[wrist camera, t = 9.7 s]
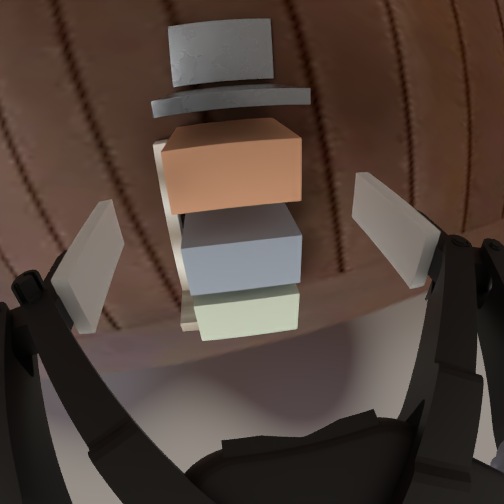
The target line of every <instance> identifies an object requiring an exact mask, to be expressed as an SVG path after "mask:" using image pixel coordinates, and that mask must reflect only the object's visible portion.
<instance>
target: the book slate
mask: <svg viewBox="0 0 504 504" xmlns="http://www.w3.org/2000/svg"><path fill="white" fill-rule="evenodd" d="M301 253H302V234H301V232H300V230H299V228H298V226H297V225H296V223H295V221H294V219H293V217H292V215H291V214H290V212H289V210H288V208H287V206H286V204H285V203H284V202H283V203H272V204H262V205H252V206H243V207H234V208H225V209H216V210H208V211H200V212H192V213H186V214H185V220H184V227H183V234H182V241H181V254H182V258H183V263H184V268H185V272H186V277H187V281H188V285H189V290H190V294H191V296H193V295H202V294H211V293H220V292H229V291H237V290H245V289H253V288H261V287H269V286H277V285H284V284H292V283H299V282H300V274H301Z"/></svg>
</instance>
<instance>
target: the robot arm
mask: <svg viewBox="0 0 504 504" xmlns="http://www.w3.org/2000/svg"><path fill="white" fill-rule="evenodd" d="M352 218H353V219H354V220H355V221H356V222H357V223H358V225H359V226H360V227H361V228H362V229H363V230H364V232H365V233H366V234H367V235H368V236H369V237H370V239H371V240H372V241H373V242H374V243H375V245H376V246H377V247H378V248H379V249H380V251H381V252H382V253H383V254H384V256H385V257H386V258H387V259H388V261H389V262H390V263H391V264H392V266H393V267H394V268H395V269H396V271H397V272H398V273H399V274H400V276H401V277H402V278H403V280H404V281H405V282H406V284H407V285H408V286H409V287H410V289H412V288H417V287H421V286H424V284H425V281H426V278H427V275H429V276H430V278H431V279H432V282H431V285H430V288H429V290H428V293H427V295H426V298H425V300H427V299H428V302H427V308H426V314H425V320H424V326H423V330H422V335H421V340H420V344H419V349H418V353H417V358H416V362H415V366H414V369H413V373H412V378H411V381H410V385H409V388H408V391H407V395H406V399H405V401H404V404H403V408H402V410H401V413H400V415H399V416H398V418H397V419H392V418H381V417H378V418H377V416H376V414H375V411H374V409H372V410H369V411H366V412H363V413H360V414H356V415H352V416H349V417H346V418H342V419H339V420H337V421H335V422H333V423H331V424H329V425H328V426H326V427H324V428H322V429H320V430H318V431H316V432H314V433H312V434H310V435H308V436H305V437H277V436H255V437H247V438H239V439H230V440H222V449H221V450H219V451H216V452H214V453H211V454H209V455H207V456H205V457H204V458H202V459H200V460H199V461H198V462H196V463H195V464H194V465H192V466H191V467H190V468H189V469H188V470H187V471H186V472H185V474H184V473H183V472H182V471H181V470H180V469H179V468H178V467H177V466H176V465H175V464H174V463H173V462H172V461H171V460H170V459H168V457H166V455H165V454H164V453H163V452H162V451H161V450H160V449H159V448H158V447H157V446H156V445H155V443H154V442H153V441H152V440H151V439H150V438H149V437H148V436H147V435H146V434H145V432H144V431H143V430H142V429H141V428H140V427H139V425H138V424H137V423H136V422H135V421H134V420H133V418H132V417H131V416H130V415H129V413H128V412H127V411H126V410H125V409H124V407H123V406H122V405H121V404H120V402H119V401H118V400H117V398H116V397H115V396H114V395H113V393H112V392H111V390H110V389H109V388H108V387H107V385H106V384H105V382H104V381H103V380H102V378H101V377H100V375H99V374H98V372H97V371H96V370H95V368H94V367H93V365H92V364H91V362H90V361H89V359H88V358H87V356H86V355H85V353H84V352H83V350H82V348H81V347H80V345H79V344H78V342H77V340H76V339H75V337H74V336H73V334H72V332H71V329H72V326H73V324H74V325H75V327H76V329H77V331H78V332H79V334H85V333H95V332H96V328H97V325H98V321H99V318H100V314H101V311H102V308H103V304H104V301H105V298H106V295H107V292H108V289H109V286H110V283H111V280H112V277H113V274H114V271H115V268H116V265H117V263H118V260H119V257H120V254H121V252H122V249H123V246H124V241H123V238H122V234H121V231H120V227H119V224H118V220H117V217H116V213H115V209H114V206H113V202H112V199H111V200H106V201H100V202H99V203H98V204H97V205H96V207H95V208H94V210H93V211H92V213H91V214H90V216H89V217H88V219H87V220H86V222H85V223H84V225H83V226H82V228H81V230H80V231H79V233H78V234H77V236H76V238H75V239H74V241H73V242H72V244H71V246H70V247H69V249H68V250H66V251H64V252H63V253H62V254H61V255H60V256H58V257H57V259H56V261H55V262H54V264H53V266H52V267H51V269H50V272H49V273H48V274H47V276H46V278H45V280H44V281H43V280H42V278H41V276H40V274H39V272H38V271H37V270H29V271H26V272H24V273H22V274H21V275H19V276H18V277H17V278H16V279H15V280H14V282H13V283H12V286H11V289H12V291H13V293H14V295H15V297H16V298H17V300H18V302H19V303H20V305H21V306H20V307H17V308H15V309H12V310H10V309H9V308H8V306H7V305H6V303H4V302H0V504H72V501H71V499H70V496H69V493H68V491H67V488H66V485H65V482H64V479H63V476H62V473H61V470H60V467H59V464H58V460H57V457H56V453H55V450H54V446H53V443H52V438H51V435H50V430H49V426H48V421H47V417H46V412H45V407H44V401H43V395H42V390H41V383H40V376H39V368H38V359H37V354H38V353H39V356H40V358H41V360H42V363H43V365H44V367H45V369H46V372H47V374H48V376H49V378H50V380H51V382H52V384H53V386H54V388H55V390H56V392H57V394H58V396H59V398H60V400H61V402H62V404H63V405H64V407H65V409H66V411H67V413H68V415H69V416H70V418H71V420H72V422H73V423H74V425H75V427H76V428H77V430H78V432H79V433H80V435H81V436H82V438H83V440H84V441H85V443H86V444H87V446H88V447H89V450H90V451H89V452H88V455H89V458H90V459H91V461H92V463H93V464H94V466H95V467H96V469H97V470H98V472H99V473H100V474H101V476H102V477H103V478H104V480H105V481H106V483H107V484H108V485H109V486H110V488H111V489H112V490H113V492H114V493H115V494H116V495H117V497H118V498H119V499H120V500H121V502H122V503H123V504H504V246H503V245H502V244H501V243H500V242H499V241H497V240H495V239H489V238H487V239H484V241H483V243H482V246H481V248H477V247H472V245H471V243H470V242H469V241H468V240H467V239H465V238H463V237H461V236H458V235H447V234H446V233H445V232H444V231H443V230H442V229H441V228H440V227H438V226H437V225H436V224H434V222H433V221H432V220H430V219H429V218H428V217H427V216H426V215H425V214H423V213H422V212H420V211H418V210H416V209H414V208H413V207H412V206H411V205H409V204H408V203H407V202H406V201H404V200H403V199H402V198H401V197H399V196H398V195H397V194H396V193H394V192H393V191H392V190H391V189H389V188H388V187H387V186H386V185H384V184H383V183H382V182H380V181H379V180H378V179H376V178H375V177H374V176H372V175H371V174H370V173H368V172H360V173H356V180H355V190H354V200H353V210H352ZM477 333H478V337H479V341H480V346H481V350H482V355H483V360H484V366H485V371H486V377H487V382H488V390H489V397H490V406H491V415H492V423H493V432H494V437H495V443H496V447H497V454H496V457H495V458H493V459H492V461H491V465H490V466H489V465H487V464H485V463H483V462H481V461H479V460H477V459H475V458H473V454H474V448H475V443H476V438H477V433H478V427H479V420H480V413H481V405H482V396H483V377H482V376H481V375H478V374H476V356H477Z"/></svg>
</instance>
